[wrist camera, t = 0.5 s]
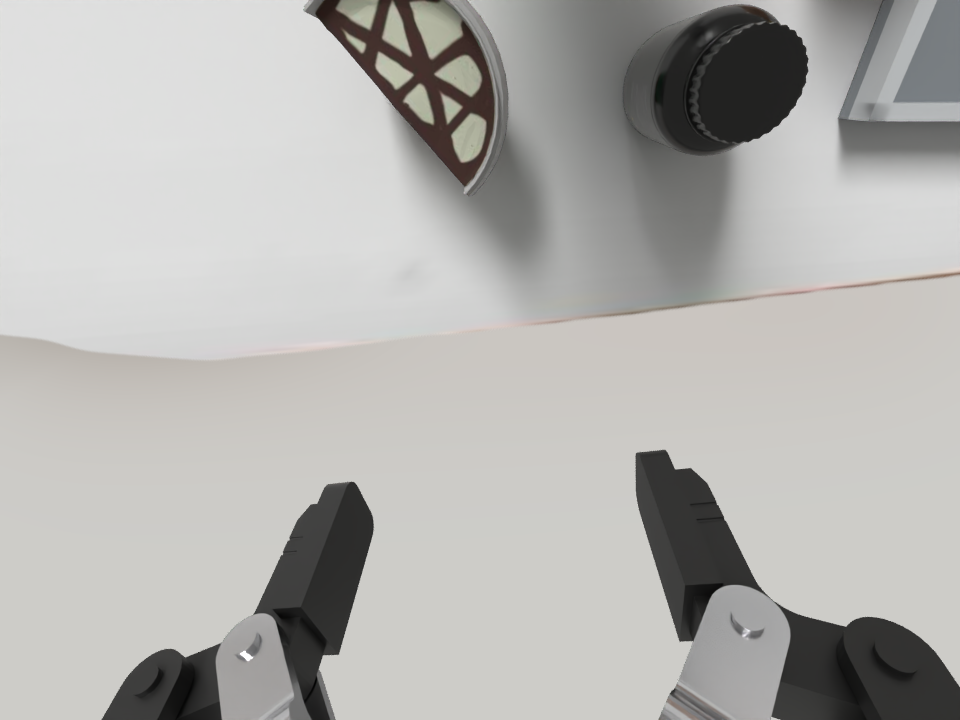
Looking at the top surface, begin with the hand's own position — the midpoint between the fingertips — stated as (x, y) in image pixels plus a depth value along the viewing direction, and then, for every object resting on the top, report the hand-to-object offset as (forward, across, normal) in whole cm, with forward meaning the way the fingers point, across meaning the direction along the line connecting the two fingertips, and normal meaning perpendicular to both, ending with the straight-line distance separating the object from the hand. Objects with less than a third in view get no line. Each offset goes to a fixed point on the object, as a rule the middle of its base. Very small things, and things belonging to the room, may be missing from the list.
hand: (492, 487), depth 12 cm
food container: (+28, +2, -11) cm, 30 cm away
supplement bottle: (+28, -13, -7) cm, 31 cm away
